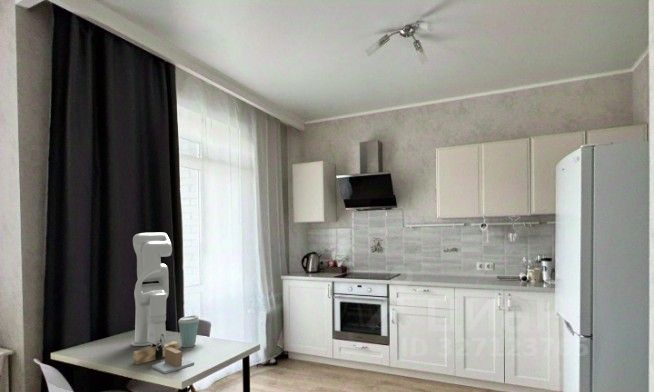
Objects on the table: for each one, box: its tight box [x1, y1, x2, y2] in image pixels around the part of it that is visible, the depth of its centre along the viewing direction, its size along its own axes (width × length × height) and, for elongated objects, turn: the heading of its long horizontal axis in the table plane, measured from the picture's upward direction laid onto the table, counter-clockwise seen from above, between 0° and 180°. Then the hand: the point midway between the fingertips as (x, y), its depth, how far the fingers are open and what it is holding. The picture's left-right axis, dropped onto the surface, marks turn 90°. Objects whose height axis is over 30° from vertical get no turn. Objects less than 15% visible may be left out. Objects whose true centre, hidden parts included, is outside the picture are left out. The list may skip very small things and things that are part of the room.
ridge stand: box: [151, 347, 195, 375], centre depth 175 cm, size 12×14×7 cm
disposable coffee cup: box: [178, 314, 200, 348], centre depth 205 cm, size 11×11×15 cm
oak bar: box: [133, 340, 179, 365], centre depth 186 cm, size 20×4×5 cm, turn 139°
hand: (156, 356), depth 186 cm, fingers closed on oak bar, 4 cm apart
